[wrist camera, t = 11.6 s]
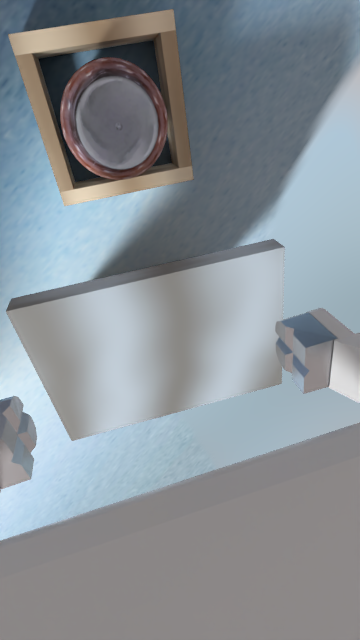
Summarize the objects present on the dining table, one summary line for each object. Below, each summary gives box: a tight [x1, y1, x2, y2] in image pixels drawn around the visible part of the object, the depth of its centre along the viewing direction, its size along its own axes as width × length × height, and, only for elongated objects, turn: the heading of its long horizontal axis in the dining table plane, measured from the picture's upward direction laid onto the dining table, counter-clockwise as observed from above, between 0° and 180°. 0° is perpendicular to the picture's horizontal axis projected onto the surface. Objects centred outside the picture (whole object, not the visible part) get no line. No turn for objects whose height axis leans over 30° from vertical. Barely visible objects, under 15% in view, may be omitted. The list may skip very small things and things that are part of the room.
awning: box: [6, 239, 285, 441], centre depth 25 cm, size 13×9×16 cm
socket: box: [8, 9, 194, 206], centre depth 25 cm, size 10×10×3 cm
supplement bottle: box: [60, 57, 168, 180], centre depth 21 cm, size 6×6×11 cm
